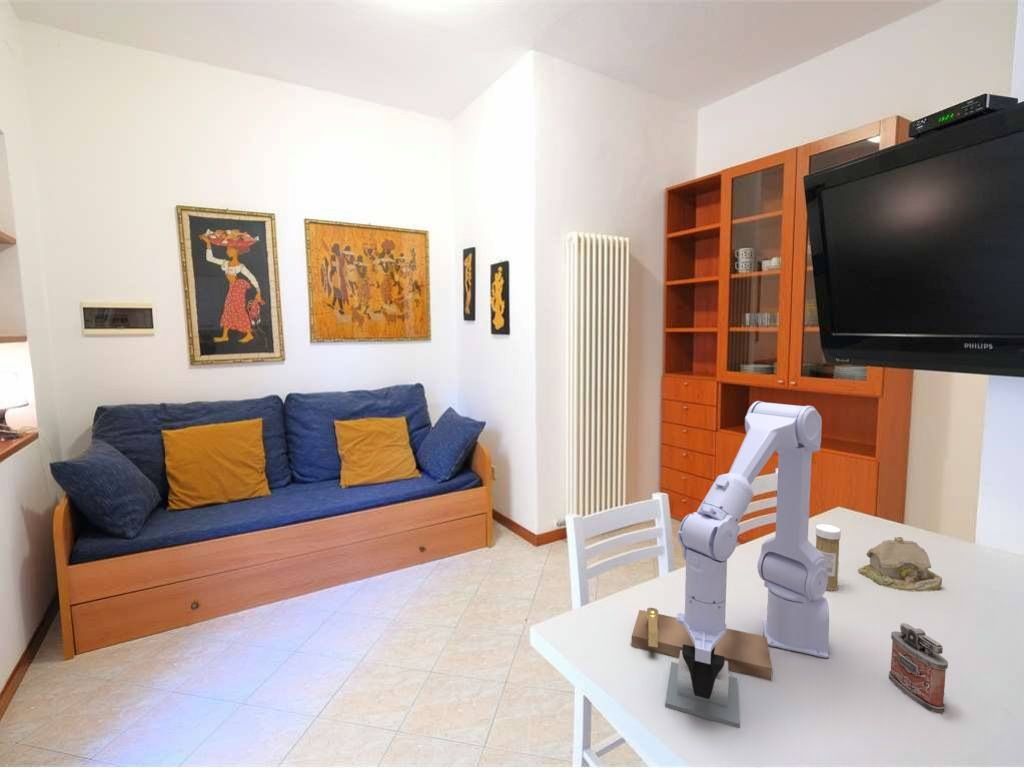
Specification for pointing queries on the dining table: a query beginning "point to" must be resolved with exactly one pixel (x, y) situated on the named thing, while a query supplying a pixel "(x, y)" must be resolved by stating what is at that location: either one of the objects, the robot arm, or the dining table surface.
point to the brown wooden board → (735, 646)
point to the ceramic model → (901, 566)
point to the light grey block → (719, 688)
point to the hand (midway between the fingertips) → (702, 678)
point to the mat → (701, 707)
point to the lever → (652, 627)
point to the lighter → (918, 667)
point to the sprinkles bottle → (829, 551)
